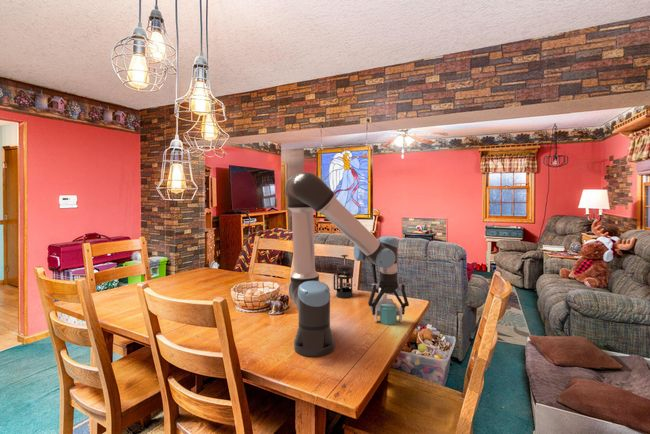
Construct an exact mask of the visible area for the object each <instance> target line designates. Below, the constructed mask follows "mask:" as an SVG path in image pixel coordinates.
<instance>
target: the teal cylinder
mask: <svg viewBox="0 0 650 434" xmlns="http://www.w3.org/2000/svg"><path fill="white" fill-rule="evenodd" d="M395 305H396V304H395ZM395 305H393V304H382V305H380V315H379V322H380V323H381V324H382V325H387V326H392V325H396V324H397V316H398V315H397V309H398V308H397V309H396V307H397V305H396V306H395Z"/></svg>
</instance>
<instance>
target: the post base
mask: <svg viewBox="0 0 650 434" xmlns="http://www.w3.org/2000/svg"><path fill="white" fill-rule="evenodd" d="M380 290H381V288H380V287H378V293H379V292H380ZM375 299H376V298H373V302H374V300H375ZM373 302H372V303H373ZM382 304H393V305H395V306H396V309H397V316H399V308H398V307H397V305H396V303H395V302H394V299H393V298H388V293H384V294H383V295H382V297H381V299H380V300H379V302H378V303H377V305H376V306H377V316H380V305H382ZM369 307H370V311H371V315H373V316H375V314H373V313H372V306H369Z"/></svg>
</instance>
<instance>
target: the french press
mask: <svg viewBox="0 0 650 434" xmlns="http://www.w3.org/2000/svg"><path fill="white" fill-rule="evenodd" d="M340 257H343V259H344V260H343V264H337V265H336V270H337V272H339V273H334V274H333V290H334V291H336V294H335V296H336V298H338V299H351V298H353V297H354V294H353V293H354V292H353V273H351V272H350V273H349V272H348V271H350V270H352V268H353V267H354V266H353V265H352V264H346V261H345V260H346V258H347V257H349V255H348V254H342V255H340Z"/></svg>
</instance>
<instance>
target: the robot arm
mask: <svg viewBox="0 0 650 434" xmlns="http://www.w3.org/2000/svg"><path fill="white" fill-rule="evenodd" d="M284 191H285V195H286V198H287V209H288V210H290V212H291V221H292V222H291V223H292V224H291V226H292V249H293V251H292V252H293V253H292V255H293V272H291V274H290V283H289V285H288V295H289V298H290V300H291V302H293V304H294V305H295V306H296V308H297V311H298V314H297V315H298V327H297V331H296V334H295V337H294V342H293V349H294V351H295V352H296V353H297V354H299V355H302V356H304V357H311V358H312V357H322V356H326V355H329V354H331V353H332V352H333V351H334V350H335V348H336V345H335V344H336V340H335V338H334V333H333V331H332V328H331V291H330V287H329V285H328V284H326V283H325V282H323V281H322V282H321V281H320V274H319V272H318V271H317V270H316V258H315V256H316V255H315V254H316V253H315V225H314V219H315V218H314V211H315V212H316V213H321V214H322V215H323V216H324V217H325V218H326V219H327V220H328V221H329V222H330V223H331V224H332V225H334V226H335V227H336V229H338V230H339V231H340V232H341V234H343V235H344V236H345V237H346V238H347V239H348V240H350V241H351V242H352V243H353V245H354V246H353V250H352V251H353V252H352V253H353V257H354V260H356V261H357V262H365V261H366V262H369V263H371V264H374V265H375V266H377V267H379V271H380V272H379V283H372V288H371V289H372V290H371V293H370V296H369V299H368V302H367V303H368V304H367V305H368V307H370V306H372V311H371V314H372V313H373V314H375V315H374V321H375V323H378V315H377V306H376V305H377V303H378V302H379V300H380V299H381V297H382V295H383V294H384V293H387V294H394V296H395V297H396V299H397V301H398V302H399V304H400V305H399V308H398V316H399V317H398V320H399V323H403V315H405V308H406V307H409V306H410V303H409V300H408V298H407V297H408V296H407V293H406V290H405V288H406V287H405V284H404V283H402V282H401V283H398V248H399V247H398V239H397V237H394V236H380V238H379V239H377V237H376V236H375V235H374V234H373V233H371V232H370V231H369V230H368V229H367V228H366V226H365V225H363V223H361V222H360V221H359V220H358V218H356V217H355V216H354V215H353V214H352V213H351V212H350V211H349V210H348V209H347V208H346V207H345V206H344V205H343V204H342V203H341V201H340V200H338V199H337V198H336V193H335V192H334V191H333V190H332V189H331V188H330V187H329V186H328V185H327V184H326V183H325V182H324V181H323V179H322V178H320V177H319V176H318V175H317V174H315V173H313V172H307V171H304V172H301V173H296V174H294V175H292V176H291V177H290V178H289V179H288V180H287V181H286V184H285V188H284ZM379 288H381V290H380V292H379V291H378V294H377V295H376V292H377V290H378V289H379ZM398 288H399V289H400V291H401V295H402V298H403V301H404V302H403V301H402V299H401V297H400V295H399V293H398V292H397V289H398ZM375 295H376V297H375ZM374 297H375V298H374ZM373 299H375V300H374V302H373ZM372 302H373V303H372Z"/></svg>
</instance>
